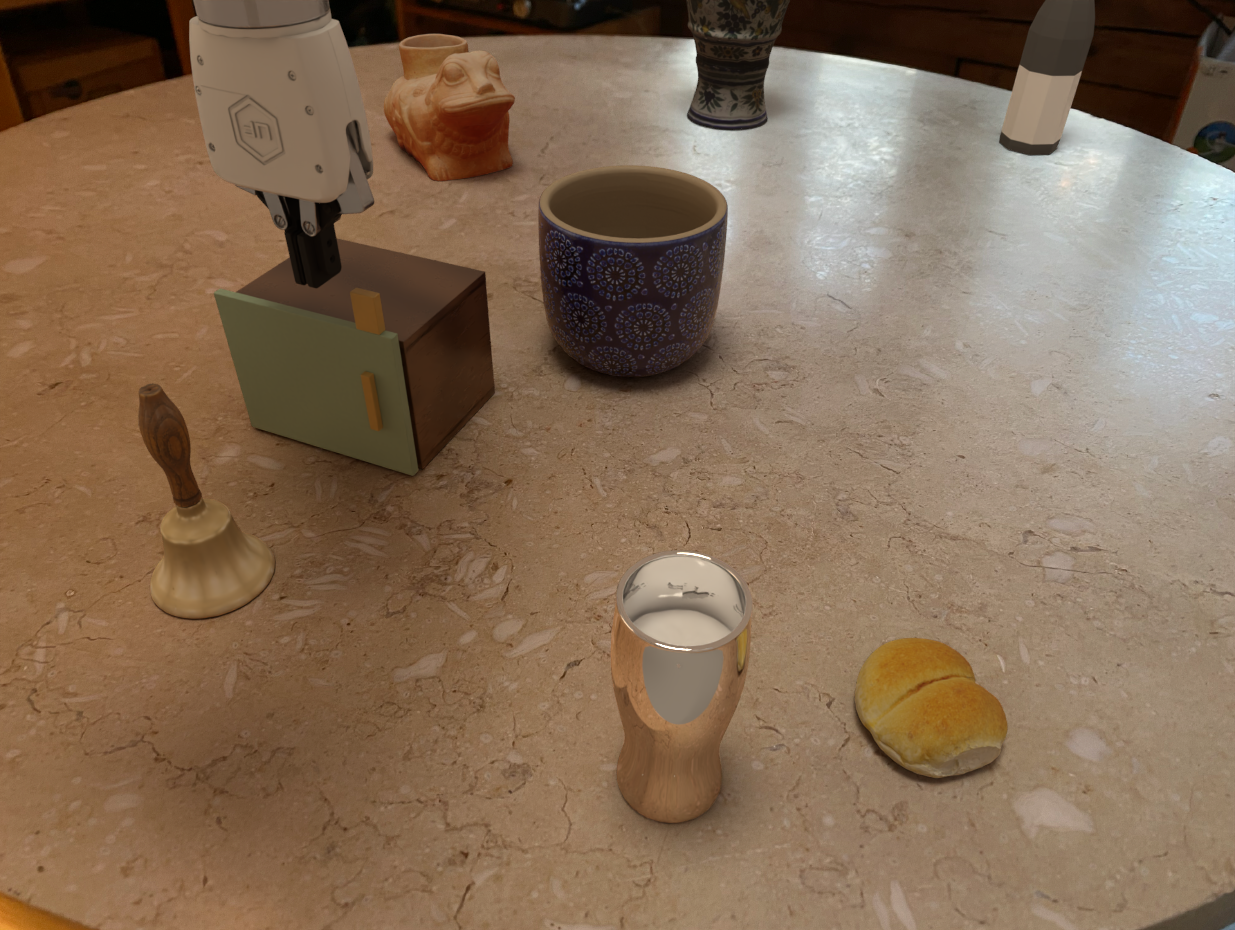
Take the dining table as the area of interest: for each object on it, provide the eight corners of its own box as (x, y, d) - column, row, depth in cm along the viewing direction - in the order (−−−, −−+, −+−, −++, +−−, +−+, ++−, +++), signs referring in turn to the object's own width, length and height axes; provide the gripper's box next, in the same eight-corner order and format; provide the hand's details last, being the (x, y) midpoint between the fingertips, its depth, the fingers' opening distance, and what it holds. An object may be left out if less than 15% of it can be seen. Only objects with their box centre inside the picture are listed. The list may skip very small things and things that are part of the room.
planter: (692, 411, 82) (705, 255, 73) (517, 377, 86) (507, 225, 77) (730, 320, 95) (746, 177, 85) (575, 294, 98) (573, 154, 89)
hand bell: (293, 539, 69) (241, 354, 59) (247, 624, 63) (181, 434, 53) (184, 530, 70) (115, 346, 59) (128, 614, 63) (40, 423, 53)
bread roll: (938, 647, 62) (953, 606, 59) (1021, 761, 55) (1042, 720, 53) (825, 675, 60) (836, 633, 57) (897, 796, 53) (912, 755, 51)
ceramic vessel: (442, 198, 117) (428, 73, 107) (373, 132, 134) (356, 20, 125) (542, 178, 122) (537, 57, 113) (463, 117, 140) (453, 8, 130)
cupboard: (422, 470, 75) (403, 341, 68) (262, 421, 80) (227, 296, 73) (495, 392, 84) (485, 271, 77) (346, 353, 89) (323, 235, 81)
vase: (672, 96, 149) (683, -126, 130) (781, 101, 148) (808, -122, 129) (666, 132, 136) (677, -108, 117) (785, 138, 135) (816, -103, 116)
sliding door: (409, 480, 74) (380, 304, 64) (246, 430, 79) (196, 259, 69) (418, 470, 75) (392, 295, 65) (257, 421, 80) (209, 251, 70)
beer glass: (603, 729, 57) (604, 550, 47) (716, 720, 57) (740, 541, 48) (615, 837, 51) (619, 660, 42) (740, 825, 52) (772, 648, 42)
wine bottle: (998, 151, 132) (1066, -94, 113) (997, 132, 138) (1062, -103, 119) (1059, 159, 130) (1138, -89, 111) (1055, 139, 136) (1130, -99, 118)
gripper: (114, -5, 54) (198, 280, 66) (327, 26, 50) (378, 325, 61) (205, -31, 60) (268, 237, 71) (406, -5, 55) (438, 276, 67)
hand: (319, 277), depth 66 cm, fingers closed
